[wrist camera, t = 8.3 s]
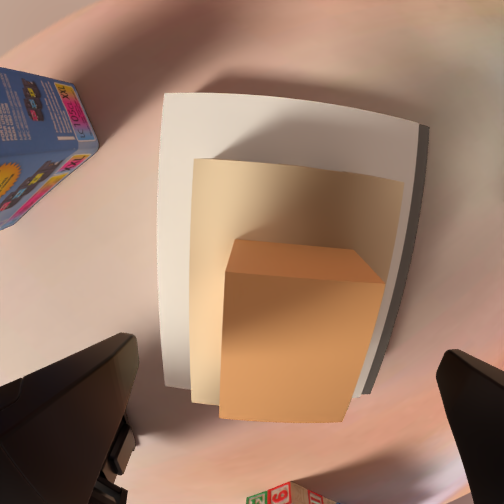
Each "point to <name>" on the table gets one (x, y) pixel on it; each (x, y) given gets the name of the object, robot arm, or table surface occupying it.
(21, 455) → the robot arm
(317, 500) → the stack of blocks
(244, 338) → the tan cardboard cube
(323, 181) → the pallet
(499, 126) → the table surface
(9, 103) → the ink cartridge box
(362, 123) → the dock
